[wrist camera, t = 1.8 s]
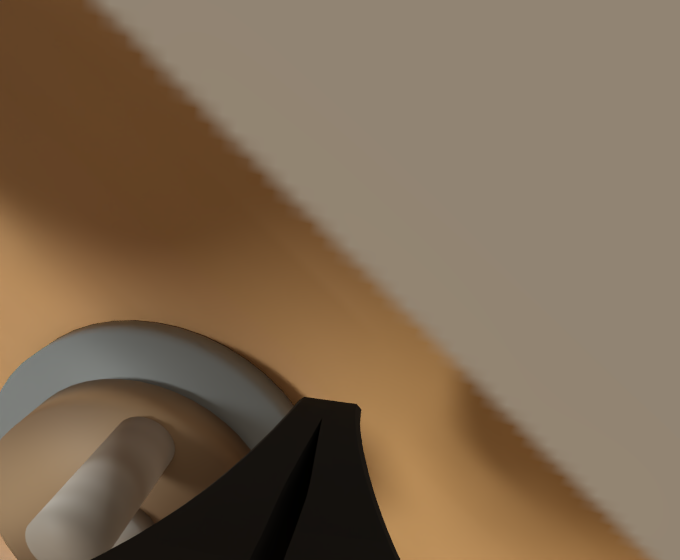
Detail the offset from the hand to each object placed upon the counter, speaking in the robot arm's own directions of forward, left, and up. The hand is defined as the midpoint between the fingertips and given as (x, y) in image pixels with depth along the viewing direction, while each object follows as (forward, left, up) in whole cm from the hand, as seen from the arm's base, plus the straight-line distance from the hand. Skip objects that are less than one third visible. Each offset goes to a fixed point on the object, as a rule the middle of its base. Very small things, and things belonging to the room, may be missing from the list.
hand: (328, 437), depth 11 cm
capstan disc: (0, -9, -3) cm, 9 cm away
